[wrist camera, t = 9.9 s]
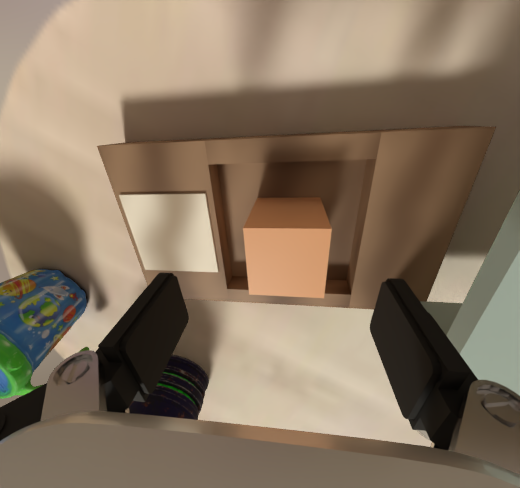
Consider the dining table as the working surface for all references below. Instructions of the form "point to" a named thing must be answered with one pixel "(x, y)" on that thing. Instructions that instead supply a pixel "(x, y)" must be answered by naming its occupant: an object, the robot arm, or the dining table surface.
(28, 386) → the snack cup
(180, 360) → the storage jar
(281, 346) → the dining table surface
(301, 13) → the dining table surface
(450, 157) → the board
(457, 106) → the dining table surface
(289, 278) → the block
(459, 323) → the cover
